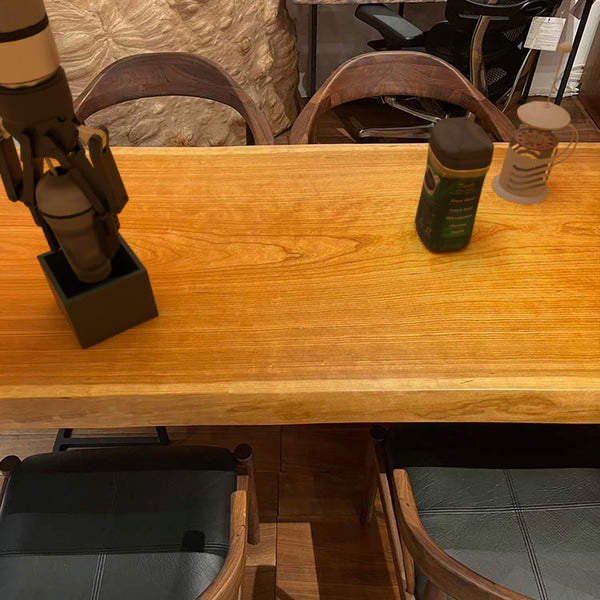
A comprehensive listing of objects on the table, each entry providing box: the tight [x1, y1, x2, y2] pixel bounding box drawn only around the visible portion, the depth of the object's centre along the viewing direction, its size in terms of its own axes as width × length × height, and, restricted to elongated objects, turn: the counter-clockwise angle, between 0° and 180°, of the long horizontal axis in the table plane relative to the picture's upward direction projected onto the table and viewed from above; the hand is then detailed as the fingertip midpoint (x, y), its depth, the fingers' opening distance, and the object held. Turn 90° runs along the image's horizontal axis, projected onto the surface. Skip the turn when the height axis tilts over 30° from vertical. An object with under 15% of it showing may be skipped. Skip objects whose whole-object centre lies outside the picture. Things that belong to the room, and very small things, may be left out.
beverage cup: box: [36, 157, 112, 283], centre depth 70 cm, size 7×7×20 cm
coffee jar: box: [414, 116, 495, 253], centre depth 87 cm, size 10×8×19 cm
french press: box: [491, 41, 579, 205], centre depth 93 cm, size 10×12×25 cm
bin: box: [36, 231, 160, 350], centre depth 79 cm, size 11×11×9 cm
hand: (86, 248), depth 74 cm, fingers closed on beverage cup, 7 cm apart
